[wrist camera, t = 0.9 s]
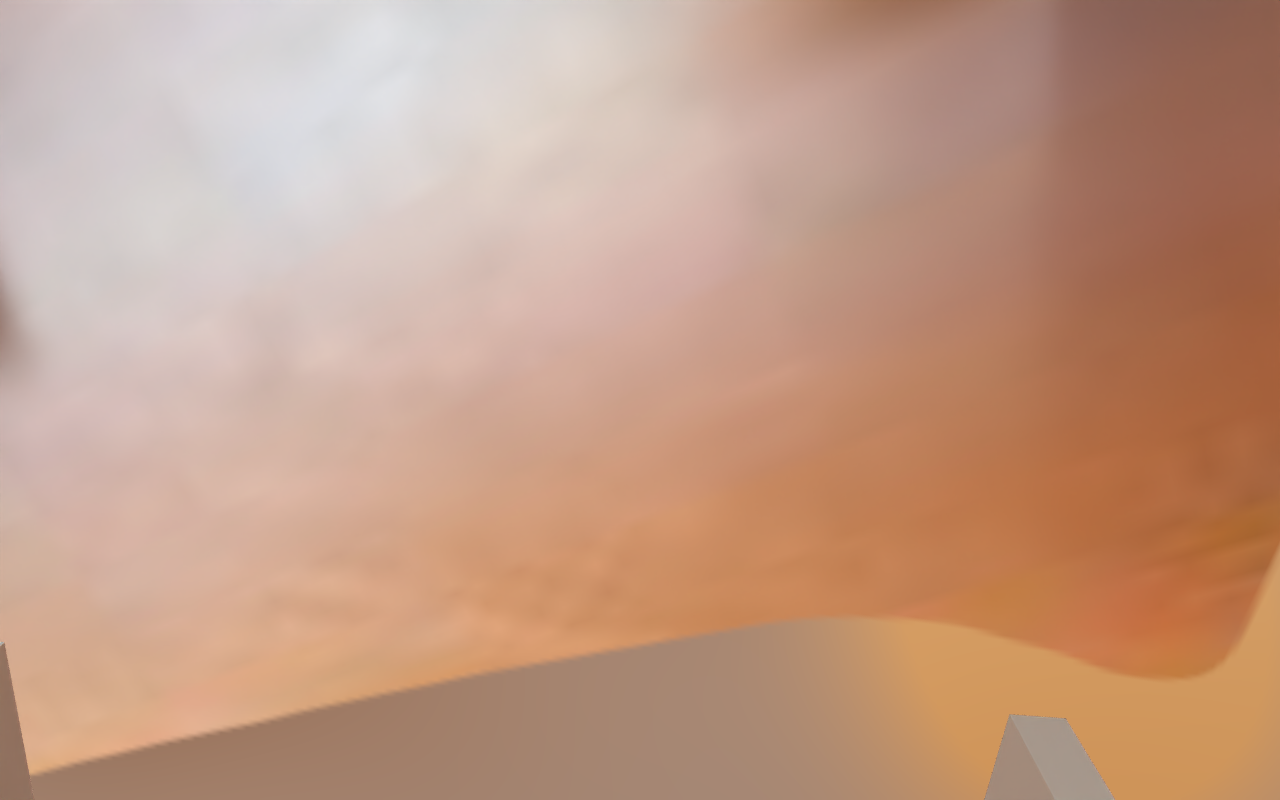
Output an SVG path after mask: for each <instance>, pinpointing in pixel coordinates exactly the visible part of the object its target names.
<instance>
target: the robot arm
mask: <svg viewBox="0 0 1280 800" xmlns="http://www.w3.org/2000/svg"><path fill="white" fill-rule="evenodd" d="M0 800H34V797H33V791H32V786H31V781H30V775H29V770H28V765H27V760H26V754H25V749H24V744H23V738H22V733H21V728H20V723H19V717H18V712H17V707H16V702H15V696H14V691H13V686H12V681H11V675H10V670H9V665H8V660H7V654H6V649H5V644H4V642H0ZM984 800H1115V799H1114V797H1113V795H1112V794H1111V792H1110V790H1109V789H1108V787H1107V786H1106V784H1105V782H1104V781H1103V779H1102V777H1101V776H1100V774H1099V772H1098V771H1097V769H1096V768H1095V766H1094V764H1093V763H1092V761H1091V759H1090V758H1089V756H1088V754H1087V753H1086V751H1085V749H1084V748H1083V746H1082V744H1081V743H1080V741H1079V740H1078V738H1077V736H1076V735H1075V733H1074V732H1073V730H1072V728H1071V726H1070V725H1069V723H1068V721H1067V720H1066V719H1065V718H1053V717H1038V716H1025V715H1009V718H1008V721H1007V725H1006V728H1005V731H1004V735H1003V738H1002V741H1001V745H1000V748H999V752H998V755H997V758H996V762H995V765H994V769H993V772H992V775H991V779H990V782H989V786H988V789H987V793H986V796H985V799H984Z"/></svg>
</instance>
